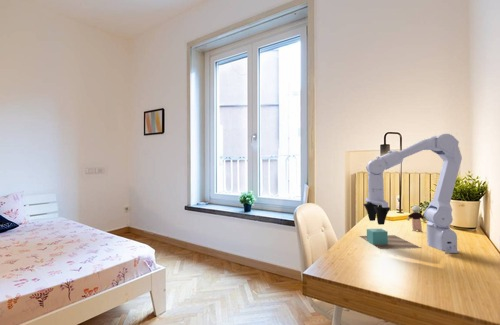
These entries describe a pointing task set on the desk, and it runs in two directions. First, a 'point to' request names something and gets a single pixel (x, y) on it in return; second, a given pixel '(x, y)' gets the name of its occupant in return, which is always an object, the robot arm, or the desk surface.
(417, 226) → the grandmother figurine
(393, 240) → the plate
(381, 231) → the teal mini fridge
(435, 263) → the desk surface
